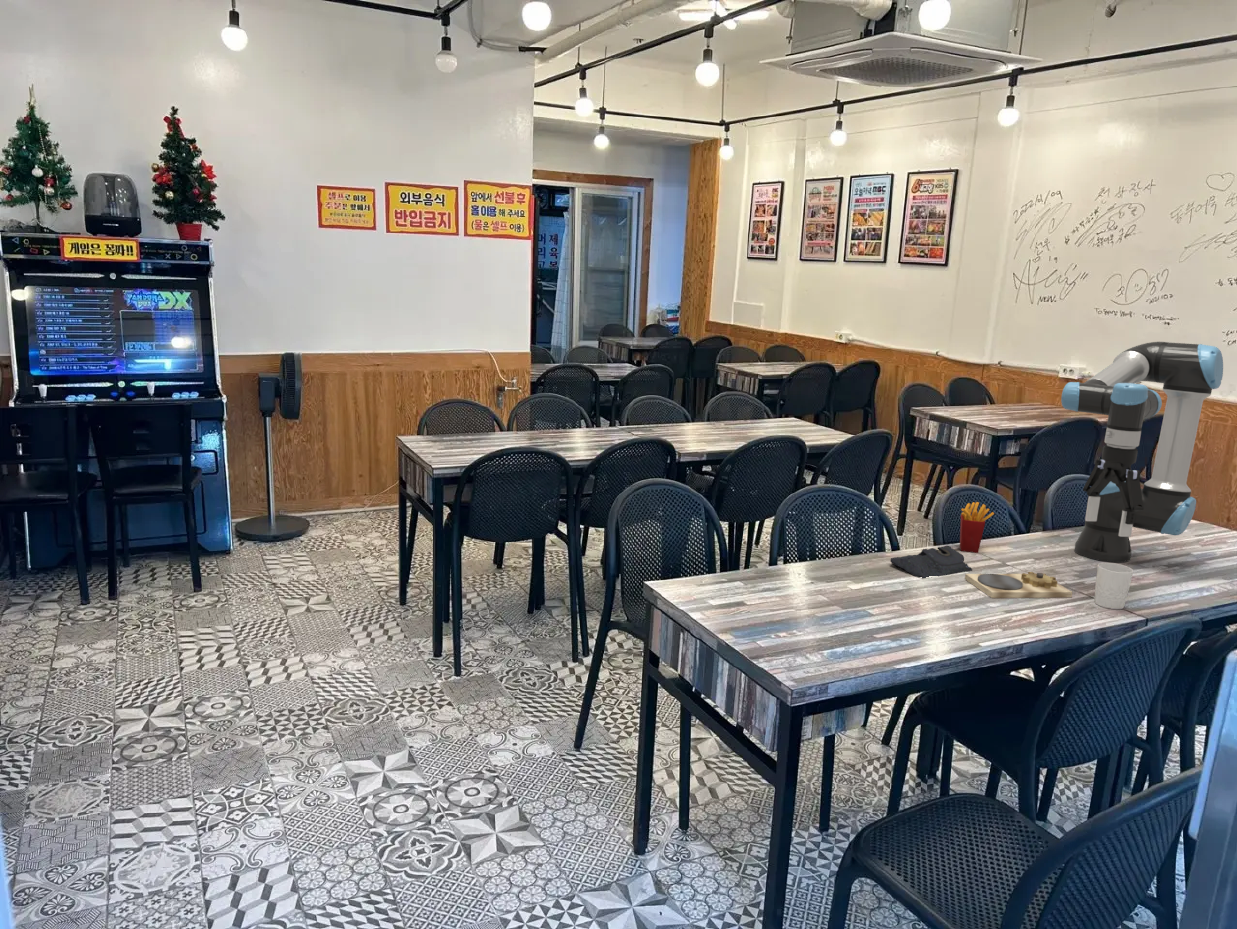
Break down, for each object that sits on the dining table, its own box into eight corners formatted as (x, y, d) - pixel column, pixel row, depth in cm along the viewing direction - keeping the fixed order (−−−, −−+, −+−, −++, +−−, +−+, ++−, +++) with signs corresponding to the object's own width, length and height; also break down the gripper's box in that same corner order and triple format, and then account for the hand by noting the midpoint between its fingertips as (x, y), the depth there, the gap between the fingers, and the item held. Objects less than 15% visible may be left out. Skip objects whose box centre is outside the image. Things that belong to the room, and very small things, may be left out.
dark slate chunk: (880, 564, 249) (882, 548, 248) (935, 555, 259) (937, 540, 258) (921, 581, 236) (923, 565, 235) (978, 571, 246) (980, 555, 245)
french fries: (957, 551, 262) (963, 503, 259) (955, 543, 270) (961, 497, 267) (989, 555, 260) (995, 506, 256) (986, 547, 267) (992, 500, 264)
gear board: (1040, 578, 240) (1042, 565, 239) (1071, 597, 227) (1073, 582, 226) (964, 579, 238) (966, 565, 237) (991, 597, 224) (993, 583, 223)
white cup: (1118, 600, 226) (1124, 563, 224) (1132, 611, 218) (1139, 573, 216) (1086, 598, 227) (1092, 561, 225) (1099, 609, 219) (1106, 571, 217)
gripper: (1076, 436, 228) (1064, 514, 232) (1140, 455, 203) (1125, 542, 208) (1103, 437, 228) (1090, 515, 233) (1170, 456, 204) (1154, 543, 208)
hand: (1107, 528), depth 220 cm, fingers open, 13 cm apart
